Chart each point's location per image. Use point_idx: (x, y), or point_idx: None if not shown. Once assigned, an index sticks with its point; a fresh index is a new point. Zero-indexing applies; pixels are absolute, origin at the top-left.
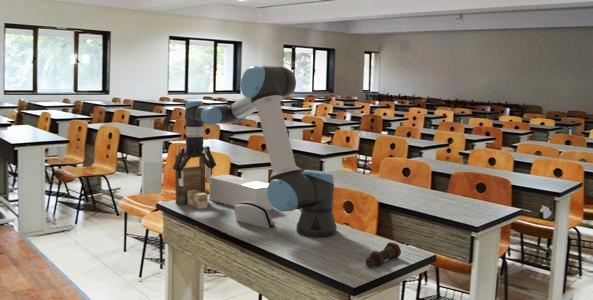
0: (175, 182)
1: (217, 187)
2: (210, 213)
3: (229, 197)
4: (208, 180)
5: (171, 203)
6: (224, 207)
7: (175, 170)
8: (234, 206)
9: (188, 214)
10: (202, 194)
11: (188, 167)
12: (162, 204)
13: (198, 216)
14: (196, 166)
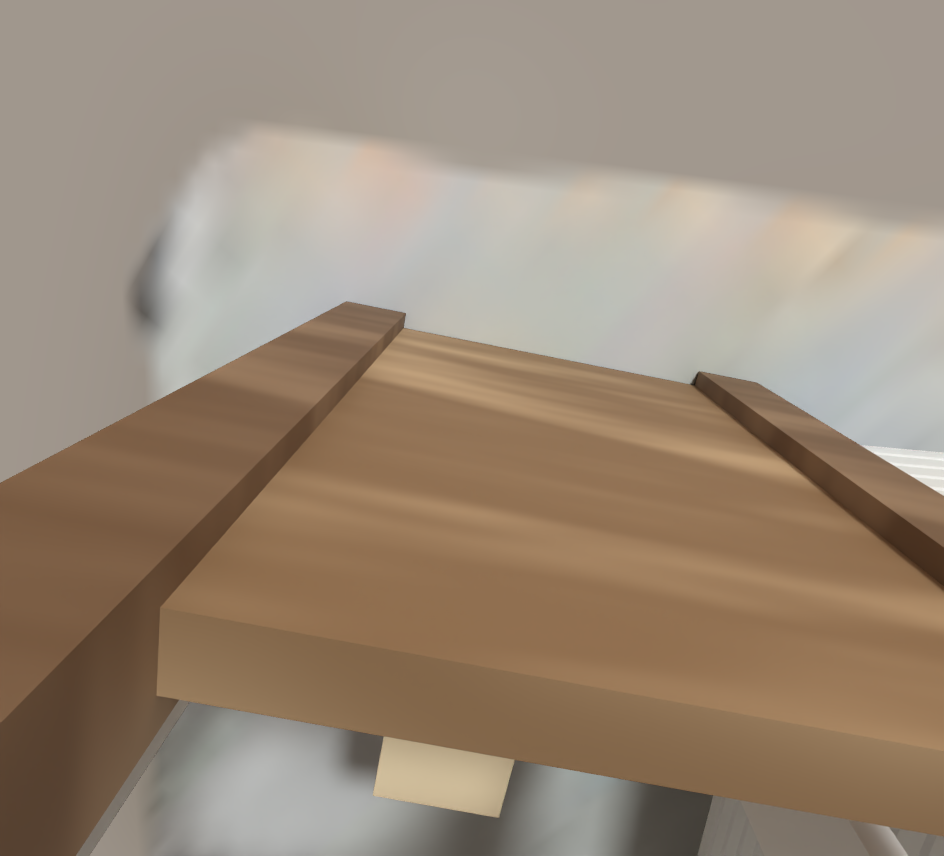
0: (232, 361)
1: None
2: (364, 836)
3: (754, 848)
4: (765, 807)
5: (304, 263)
6: (617, 787)
7: (26, 473)
8: (705, 833)
9: (185, 740)
10: (429, 797)
11: (526, 760)
12: (180, 222)
13: (220, 833)
14: (937, 829)
